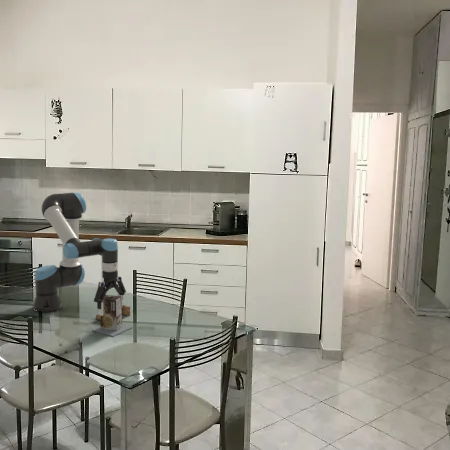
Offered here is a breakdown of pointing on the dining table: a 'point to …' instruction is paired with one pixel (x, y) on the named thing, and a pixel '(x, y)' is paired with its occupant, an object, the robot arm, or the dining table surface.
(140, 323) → the dining table surface
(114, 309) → the coffee box
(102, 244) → the robot arm
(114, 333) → the rubber mat
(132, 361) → the dining table surface
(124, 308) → the slot rack
